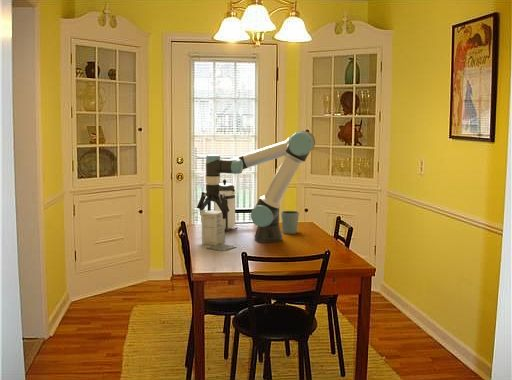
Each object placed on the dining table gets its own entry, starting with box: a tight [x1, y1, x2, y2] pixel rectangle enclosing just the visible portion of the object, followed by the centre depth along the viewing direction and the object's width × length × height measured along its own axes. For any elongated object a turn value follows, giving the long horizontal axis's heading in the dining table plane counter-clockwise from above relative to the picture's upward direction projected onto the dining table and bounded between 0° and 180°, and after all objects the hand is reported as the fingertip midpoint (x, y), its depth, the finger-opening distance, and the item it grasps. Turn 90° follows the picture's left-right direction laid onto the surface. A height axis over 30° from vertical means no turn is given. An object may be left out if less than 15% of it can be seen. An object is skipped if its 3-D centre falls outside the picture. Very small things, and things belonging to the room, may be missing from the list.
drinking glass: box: [280, 210, 300, 235], centre depth 344 cm, size 10×10×12 cm
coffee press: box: [207, 179, 238, 232], centre depth 352 cm, size 17×16×30 cm
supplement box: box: [200, 210, 226, 246], centre depth 317 cm, size 10×9×17 cm
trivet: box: [206, 243, 237, 252], centre depth 306 cm, size 11×11×1 cm
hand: (212, 223), depth 316 cm, fingers open, 13 cm apart
